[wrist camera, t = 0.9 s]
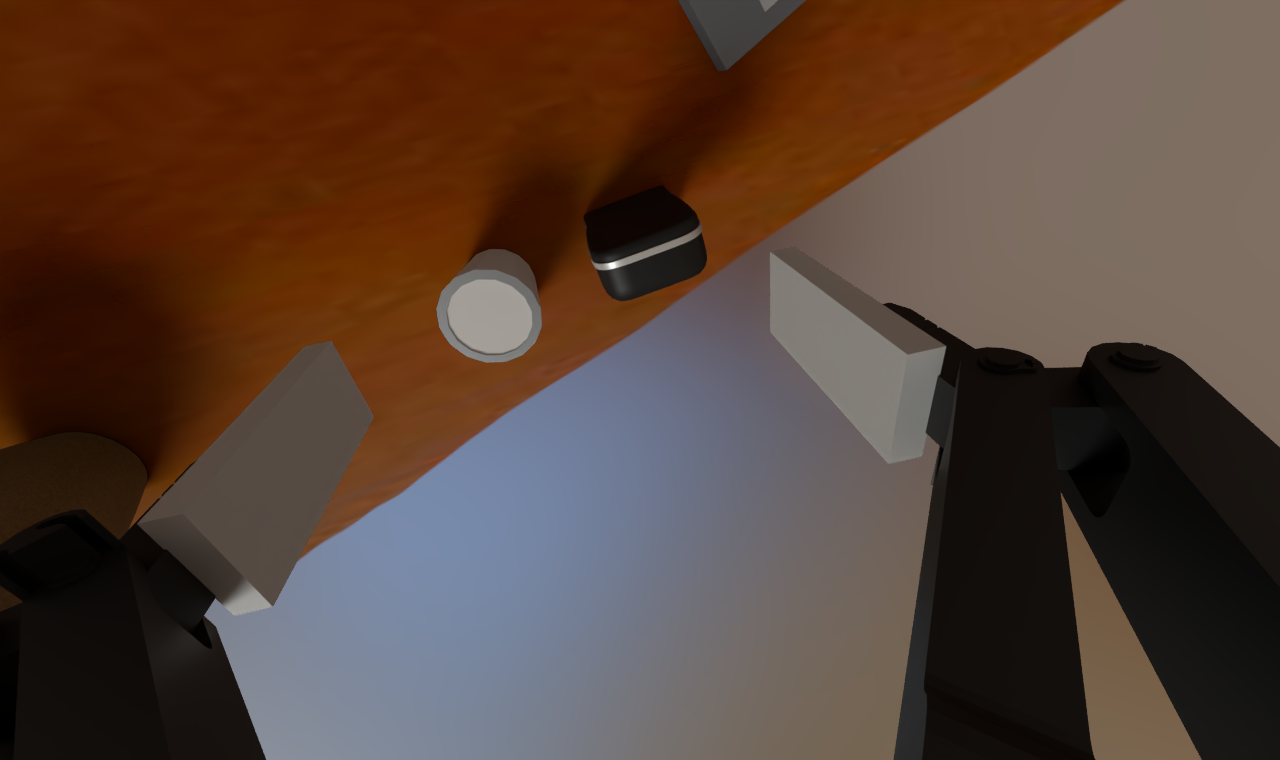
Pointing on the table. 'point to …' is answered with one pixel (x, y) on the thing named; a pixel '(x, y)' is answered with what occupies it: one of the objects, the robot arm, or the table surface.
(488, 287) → the grey rimmed cylinder
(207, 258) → the table surface
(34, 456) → the plant pot
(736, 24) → the console
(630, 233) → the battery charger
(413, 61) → the table surface
